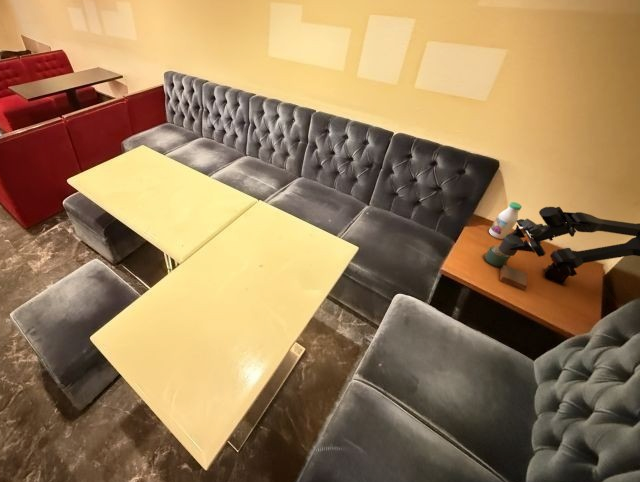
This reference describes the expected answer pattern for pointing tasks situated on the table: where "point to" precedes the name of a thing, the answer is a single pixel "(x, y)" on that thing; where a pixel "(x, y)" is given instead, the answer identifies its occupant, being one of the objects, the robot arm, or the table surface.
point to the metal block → (513, 277)
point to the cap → (509, 244)
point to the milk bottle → (505, 221)
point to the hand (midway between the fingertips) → (507, 243)
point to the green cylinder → (496, 257)
